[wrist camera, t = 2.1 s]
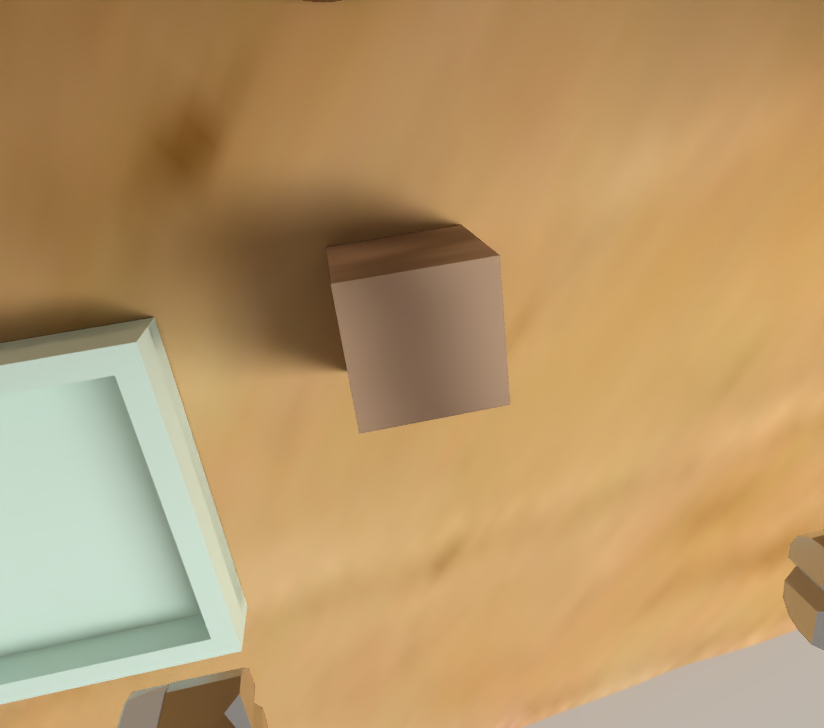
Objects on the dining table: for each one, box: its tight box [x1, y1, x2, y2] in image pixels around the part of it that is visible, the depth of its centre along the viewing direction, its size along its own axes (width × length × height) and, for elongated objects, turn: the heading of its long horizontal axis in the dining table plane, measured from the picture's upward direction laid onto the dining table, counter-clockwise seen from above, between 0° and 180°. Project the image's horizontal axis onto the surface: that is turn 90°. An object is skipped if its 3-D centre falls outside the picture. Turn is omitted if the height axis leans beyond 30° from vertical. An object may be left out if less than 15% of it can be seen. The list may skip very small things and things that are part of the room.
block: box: [326, 225, 510, 434], centre depth 21 cm, size 5×5×5 cm
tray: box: [0, 317, 247, 704], centre depth 23 cm, size 14×14×2 cm
